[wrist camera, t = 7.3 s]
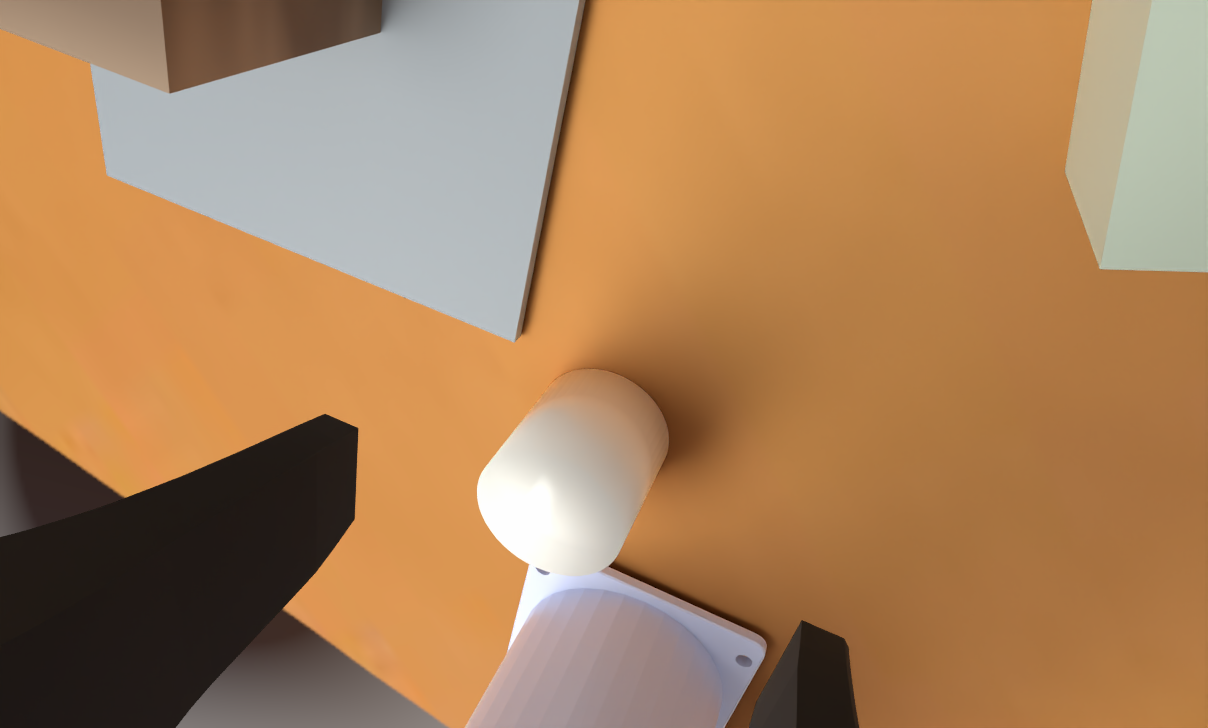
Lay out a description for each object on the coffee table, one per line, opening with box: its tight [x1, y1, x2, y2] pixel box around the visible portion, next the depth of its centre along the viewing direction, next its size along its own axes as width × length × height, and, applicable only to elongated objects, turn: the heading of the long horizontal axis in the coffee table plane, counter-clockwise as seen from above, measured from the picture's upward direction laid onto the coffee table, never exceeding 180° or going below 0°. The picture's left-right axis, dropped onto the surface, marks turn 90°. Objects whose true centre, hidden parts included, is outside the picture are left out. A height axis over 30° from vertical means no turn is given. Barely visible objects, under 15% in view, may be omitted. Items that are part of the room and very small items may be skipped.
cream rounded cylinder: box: [477, 369, 669, 576], centre depth 22 cm, size 4×4×4 cm
